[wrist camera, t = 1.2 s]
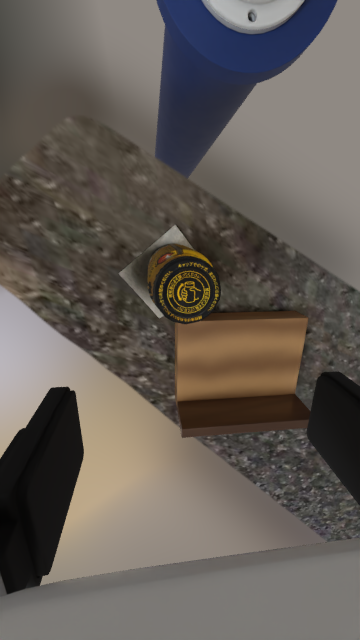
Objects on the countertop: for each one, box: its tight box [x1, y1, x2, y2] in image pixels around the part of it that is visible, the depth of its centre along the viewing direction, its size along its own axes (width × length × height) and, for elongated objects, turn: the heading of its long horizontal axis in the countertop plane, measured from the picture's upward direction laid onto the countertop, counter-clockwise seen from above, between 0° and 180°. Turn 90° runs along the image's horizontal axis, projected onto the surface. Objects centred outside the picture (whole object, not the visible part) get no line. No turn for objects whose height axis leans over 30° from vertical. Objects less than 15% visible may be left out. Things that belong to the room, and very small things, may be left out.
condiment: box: [119, 225, 221, 324], centre depth 25 cm, size 7×8×12 cm
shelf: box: [175, 311, 311, 438], centre depth 31 cm, size 12×16×8 cm
